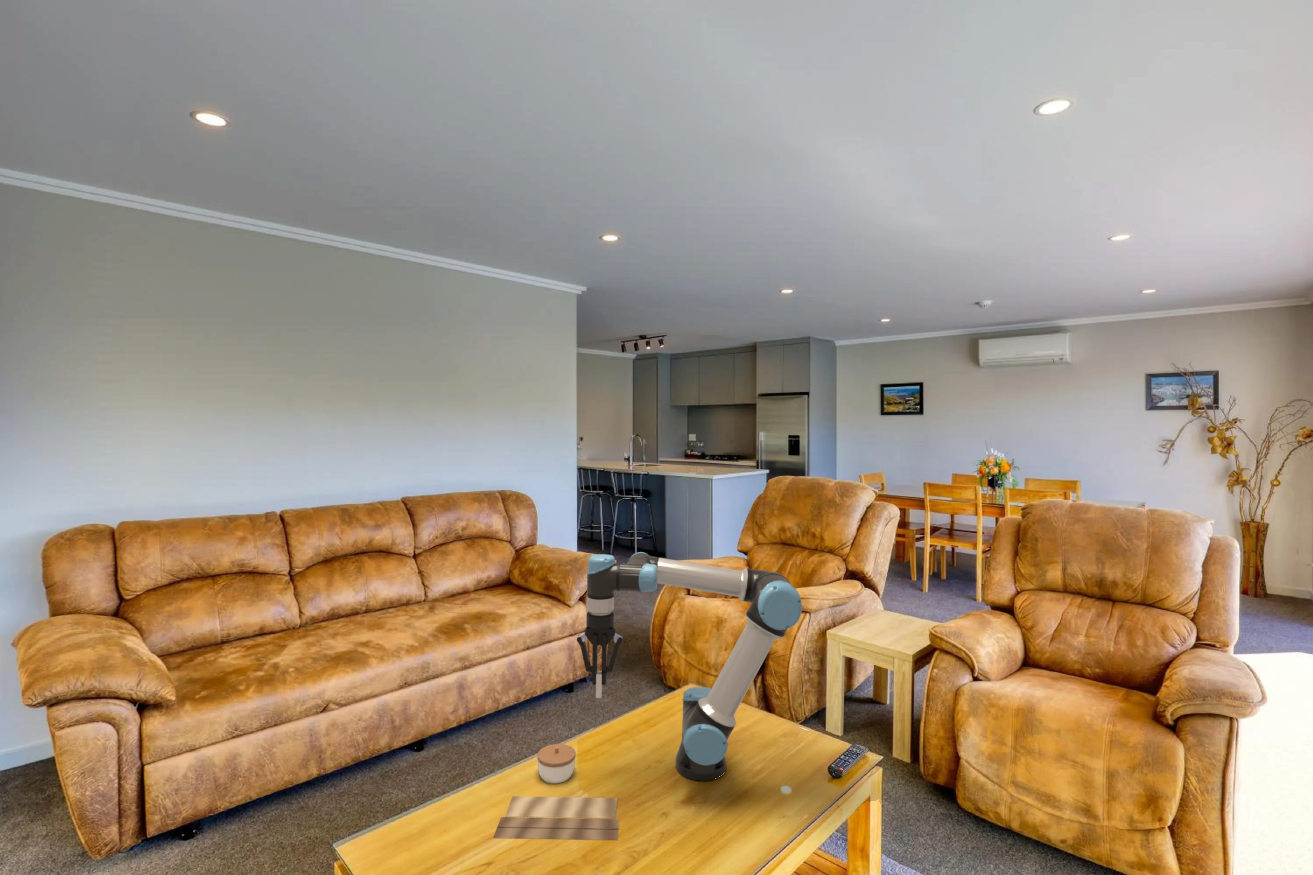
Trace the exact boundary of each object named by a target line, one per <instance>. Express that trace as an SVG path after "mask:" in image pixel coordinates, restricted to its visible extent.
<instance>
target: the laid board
mask: <svg viewBox="0 0 1313 875" xmlns="http://www.w3.org/2000/svg"><path fill="white" fill-rule="evenodd" d="M619 828H620V818H562V817H505V816H501V817H500V819H499V821H498V824H497V827H496V830H495V832H494V834H493V837H492V839H509V840H511V839H515V840H517V839H519V840H524V839H525V840H564V841H565V840H567V841H568V840H570V841H571V840H573V841H574V840H575V841H577V840H578V841H581V840H582V841H584V840H585V841H618V840H619Z"/></svg>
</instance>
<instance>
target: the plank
mask: <svg viewBox="0 0 1313 875" xmlns="http://www.w3.org/2000/svg"><path fill="white" fill-rule="evenodd" d="M617 805H618V798H617V797H565V796H562V797H561V796H558V797H557V796H520V795H519V796H512V797H511V799H510V802H509V806H508V807H507V811H506V813H505V816H504V817H530V818H587V819H617V817H616V816H617V807H618V806H617Z"/></svg>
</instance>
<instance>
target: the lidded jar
mask: <svg viewBox="0 0 1313 875" xmlns="http://www.w3.org/2000/svg"><path fill="white" fill-rule="evenodd" d="M576 755H577V754H576V750H575V749H574V747H572V746H571V745H568V744H566V743H565V744H564V743H552V744H549V745H546V746H544V747H542V748H541V749H540V750H539V751H538V753H537V768H538V773H539V776H540V778H541V779H542V780H543V781H544V782H545V783H548V784H560V783H563V782H566V781H567V780H569V779H570V778H571V776H572V774H573V772H574V770H575V765H576V757H577V756H576Z"/></svg>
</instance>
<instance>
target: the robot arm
mask: <svg viewBox="0 0 1313 875" xmlns="http://www.w3.org/2000/svg"><path fill="white" fill-rule="evenodd" d="M587 561H588V562H587V572H586V576H587V577H586V581H587V582H586V583H587V584H586V587H587V588H586V589H587V590H586V592H587V593H586V594H587V595H586V611H587V612H586V628H585V630H584V632H583V633H582V634H577V637H576V642H577V643H578V644H579V647H580V650H581V655H582V660H583V663H584V669H585V671H586V672H588V673H591V684H592V685H593V686H595V699H602V697H603V696H602V695H603V686H606V684H607V674H608V673H612V672H613V670H614V666H615V662H616V657H617V654H618V649H619V647H620V645H621V644H622V642H623V640H624V638H623V635H622V634H618V633H617V632H616V629H615V627H614V622H615V620H614V619H615V613H614V611H615V592H616V591H617V592H635V593H637V592H638V593H639V592H641V593H649V592H651V593H653V592H655V591H657V589H658V584H659V585H666V586H672V587H676V588H677V587H679V588H683V589H684V588H685V589H689V590H690V589H691V590H694V591H695V590H696V591H700V592H706V593H707V592H708V593H714V594H720V595H727V596H730V597H731V596H732V597H737V598H738V599H739V600H740V601H742V602H746V603H749V604H750V603H751V604H750V606H749V607H748V609H747V611H746V612H745V618H746V620H747V621H746V622H747V623H746V624H745V626H744V629H743V630H742V631H741V633H740V636H739V637H738V639H737V641H736V643H735V645H734V647H733V649H732V650H731V652H730V654H729V656H728V658H727V660H726V661H725V663H724V665H723V667H722V668H721V671H720V673H719V674H718V676H717V678H716V680H715V682H714V684H713V686H712V688H711V687H705V686H696V687H689V688H687V689H685V690H684V692H683V695H682V722H681V723H682V724H681V725H682V727H681V728H682V729H681V732H682V733H681V741H680V745H679V747H678V750H677V753H676V755H675V769H676V771H677V772H678V774H679V775H681V776H683V777H684V778H686V779H689V780H691V781H696V780H701V781H700V782H705V781H704V780H711V781H714V780H713V779H715V778H718V777H719V776H721V775H722V774H723V773H724V772H725V770H726V771H727V758H726V754H727V751H728V745H729V743H728V739H729V737H730V736H731V734H732V732H733V730H734V728H736V724H737V721H736V717H735V714H736V712H737V711H738V709H739V707H740V705H741V703H742V701H743V700H744V698H745V696H746V694H747V692H748V690H749V689H750V686H751V685H752V683H753V682H754V679H755V678H756V676H757V674H758V672H759V671H760V668H761V667H762V665H763V663H764V661H765V659H766V658H767V656H768V654H769V652H770V650H771V649H772V646H773V644H774V643H775V641H776V640H779V639H782V638H784V636H785V635H786V633H787V631H788V629H790V628H792V627H793V626H795V625H796V624H797V623H798V622H799V620H800V618H801V615H802V612H803V602H802V600H801V596H800V593H799V592H798V590H797V589H796V587H795V586H793V584H791V581H790V580H789V579H788V578H787V577H786V576H785V575H783V574H782V573H779V572H776V571H771V570H770V571H769V570H764V569H763V570H762V569H754V568H748V567H746V568H744V569H742V570H738V569H732V568H727V567H719V566H714V565H708V564H702V563H701V564H700V563H695V562H688V561H682V560H676V559H670V558H665V557H656V556H652V555H649V554H648V553H646V552H642V551H640V552H639V551H638V552H635V553H634V554H632V555H631V556H630V557H629V558H628V560H627V563H619V562H616V560H615V556H613V555H612V554H606V553H605V554H601V553H600V554H594V555H591V556H590V557H589V558H588V560H587ZM612 639H613V642H614V644H613V648H612V650H611V651H612V652H611V655H610V659H609V664H608V665H607V660H608V658H607V657H608V649H607V648H608V645H609V643H611V641H612ZM586 640H588V642H590V644H591V645H592V656H591V657H592V658H591V659H592V663H591V661H590V655H589V651H588V647H587V644H586V643H587V642H586ZM599 646H600V647H601V670H598V649H599V648H598V647H599ZM591 664H592V665H591ZM725 773H726V772H725ZM718 779H719V778H718ZM715 780H716V779H715Z"/></svg>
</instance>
